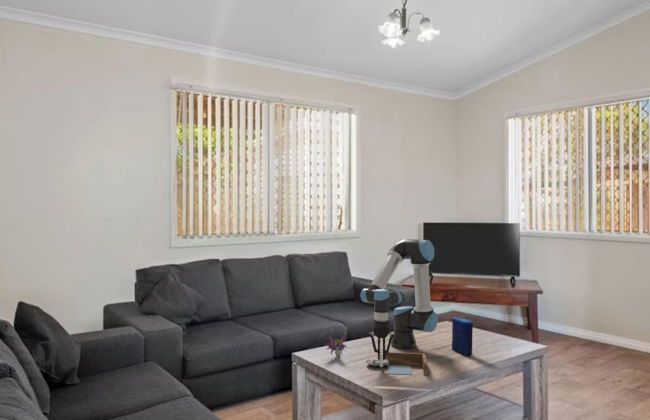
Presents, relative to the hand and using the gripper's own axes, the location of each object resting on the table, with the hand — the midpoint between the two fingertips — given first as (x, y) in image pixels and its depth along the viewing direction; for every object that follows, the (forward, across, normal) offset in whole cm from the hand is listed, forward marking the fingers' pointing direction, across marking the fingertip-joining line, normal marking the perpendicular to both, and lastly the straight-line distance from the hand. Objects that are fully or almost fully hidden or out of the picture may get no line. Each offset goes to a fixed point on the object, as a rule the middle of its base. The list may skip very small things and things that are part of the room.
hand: (381, 366), depth 248 cm
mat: (+2, +9, +1) cm, 9 cm away
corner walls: (+2, +9, +2) cm, 10 cm away
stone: (+2, +2, +3) cm, 4 cm away
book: (+2, +45, +38) cm, 59 cm away
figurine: (+2, -25, +17) cm, 30 cm away
